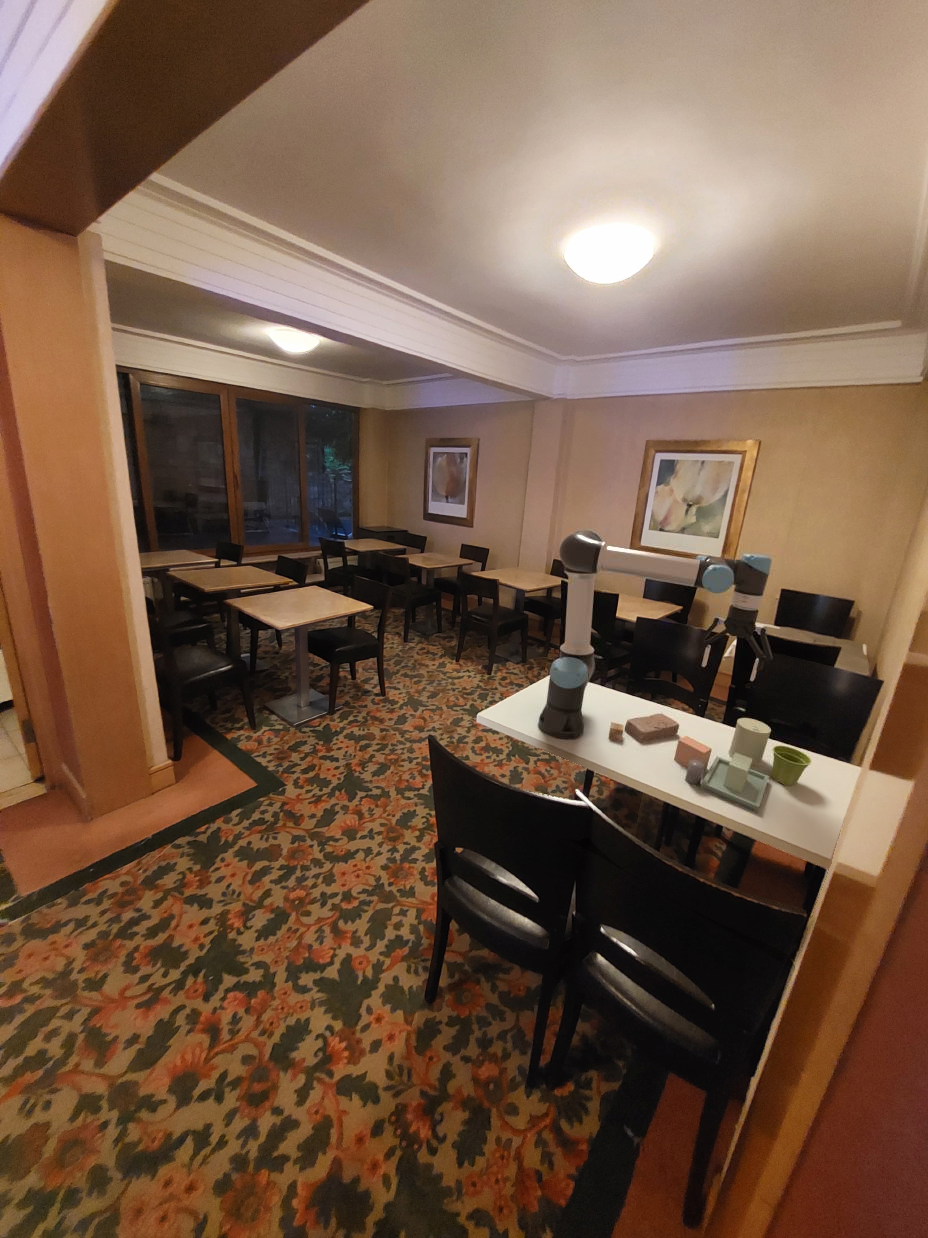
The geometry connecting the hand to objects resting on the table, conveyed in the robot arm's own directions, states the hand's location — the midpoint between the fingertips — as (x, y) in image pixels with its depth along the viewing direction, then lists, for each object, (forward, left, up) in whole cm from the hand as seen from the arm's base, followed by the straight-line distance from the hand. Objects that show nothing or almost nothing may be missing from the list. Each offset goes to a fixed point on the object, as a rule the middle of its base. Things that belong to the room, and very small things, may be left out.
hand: (727, 672), depth 143 cm
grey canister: (+1, -24, -26) cm, 36 cm away
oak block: (-25, -17, -27) cm, 40 cm away
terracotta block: (-2, -15, -27) cm, 31 cm away
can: (+10, +2, -27) cm, 29 cm away
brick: (-17, -5, -27) cm, 32 cm away
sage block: (+11, -17, -26) cm, 32 cm away
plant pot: (+21, -3, -27) cm, 34 cm away
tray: (+11, -17, -26) cm, 33 cm away
